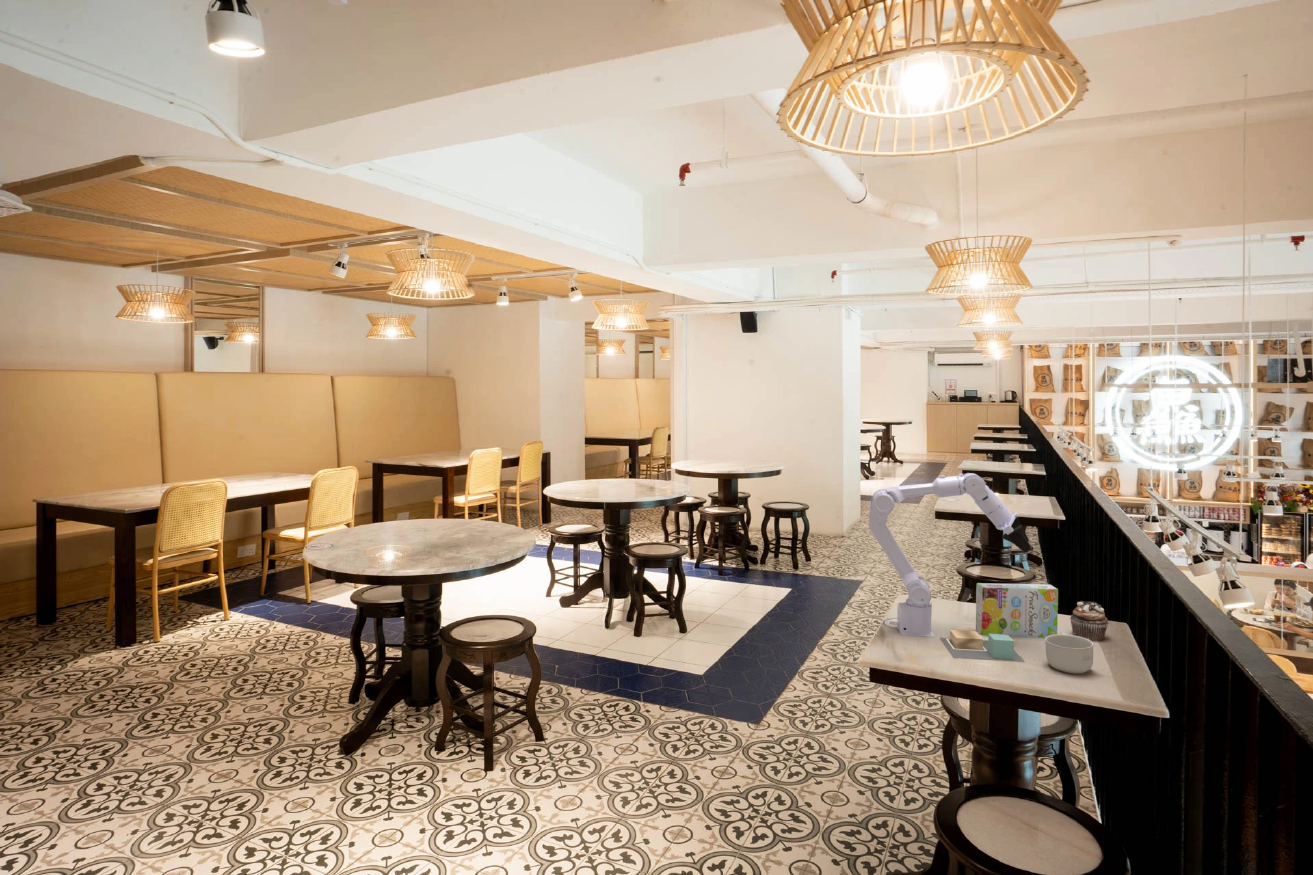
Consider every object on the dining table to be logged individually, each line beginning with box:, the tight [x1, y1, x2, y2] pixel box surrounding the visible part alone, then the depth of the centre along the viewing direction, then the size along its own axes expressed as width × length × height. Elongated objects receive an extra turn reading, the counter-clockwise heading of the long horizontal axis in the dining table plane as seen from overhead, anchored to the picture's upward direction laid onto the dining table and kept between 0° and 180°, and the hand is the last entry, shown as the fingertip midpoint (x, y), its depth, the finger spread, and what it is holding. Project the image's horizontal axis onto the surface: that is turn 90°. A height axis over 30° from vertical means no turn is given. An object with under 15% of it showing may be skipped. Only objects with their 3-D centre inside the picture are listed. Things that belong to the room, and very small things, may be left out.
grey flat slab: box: [939, 637, 1026, 663], centre depth 195 cm, size 18×16×1 cm
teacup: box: [1044, 632, 1095, 675], centre depth 182 cm, size 14×11×8 cm
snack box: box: [975, 582, 1059, 638], centre depth 208 cm, size 21×6×15 cm, turn 84°
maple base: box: [949, 629, 984, 650], centre depth 198 cm, size 7×7×3 cm
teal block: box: [987, 634, 1015, 659], centre depth 190 cm, size 5×5×5 cm
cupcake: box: [1069, 600, 1109, 642], centre depth 207 cm, size 10×10×10 cm
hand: (1027, 546), depth 200 cm, fingers open, 7 cm apart
